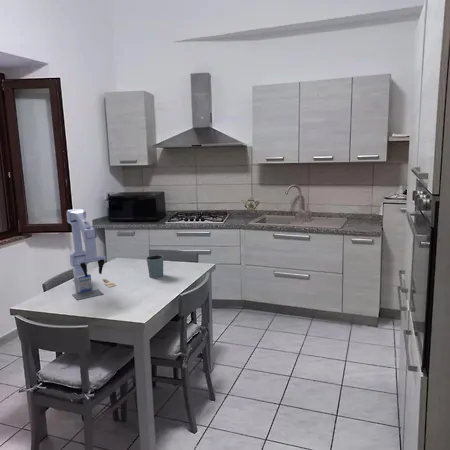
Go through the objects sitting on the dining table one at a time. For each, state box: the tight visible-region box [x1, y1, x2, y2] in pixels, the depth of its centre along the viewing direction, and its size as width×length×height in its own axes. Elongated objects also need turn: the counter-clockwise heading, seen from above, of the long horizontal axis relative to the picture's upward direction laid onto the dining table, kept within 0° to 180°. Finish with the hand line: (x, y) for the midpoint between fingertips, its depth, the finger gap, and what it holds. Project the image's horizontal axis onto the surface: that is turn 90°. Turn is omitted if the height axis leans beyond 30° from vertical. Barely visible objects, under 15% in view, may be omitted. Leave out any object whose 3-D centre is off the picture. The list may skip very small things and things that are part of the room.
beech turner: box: [102, 278, 117, 288], centre depth 235 cm, size 15×4×1 cm, turn 34°
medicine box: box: [73, 273, 93, 293], centre depth 223 cm, size 8×4×9 cm, turn 143°
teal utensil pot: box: [146, 254, 164, 279], centre depth 245 cm, size 10×10×12 cm
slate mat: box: [72, 288, 104, 301], centre depth 217 cm, size 10×14×1 cm
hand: (93, 275), depth 218 cm, fingers open, 7 cm apart
